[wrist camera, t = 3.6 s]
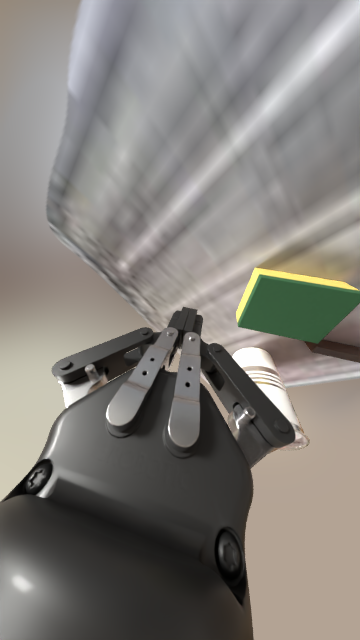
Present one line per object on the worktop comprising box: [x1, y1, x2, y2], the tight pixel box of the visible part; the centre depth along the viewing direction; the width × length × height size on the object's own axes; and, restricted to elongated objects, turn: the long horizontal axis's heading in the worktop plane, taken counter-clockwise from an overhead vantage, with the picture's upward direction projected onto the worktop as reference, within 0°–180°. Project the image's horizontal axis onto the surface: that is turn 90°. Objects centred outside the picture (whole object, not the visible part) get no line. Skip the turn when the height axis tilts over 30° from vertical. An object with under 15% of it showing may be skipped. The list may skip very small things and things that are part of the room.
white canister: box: [231, 348, 310, 450], centre depth 22 cm, size 10×8×12 cm
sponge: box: [236, 268, 360, 344], centre depth 18 cm, size 7×10×3 cm
